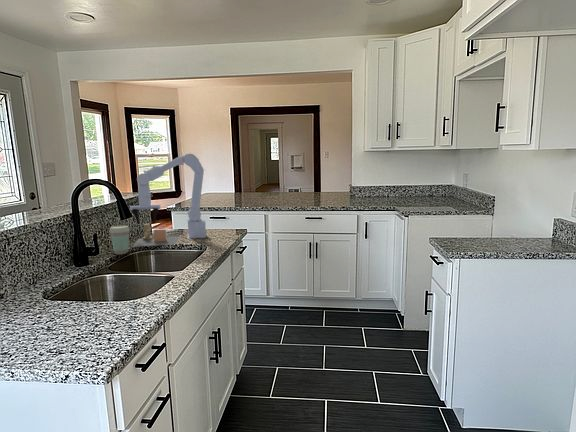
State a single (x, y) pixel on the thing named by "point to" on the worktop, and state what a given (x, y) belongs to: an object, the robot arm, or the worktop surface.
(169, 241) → the mat
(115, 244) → the coffee cup
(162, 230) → the tile
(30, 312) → the worktop surface
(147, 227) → the stepped wooden block
